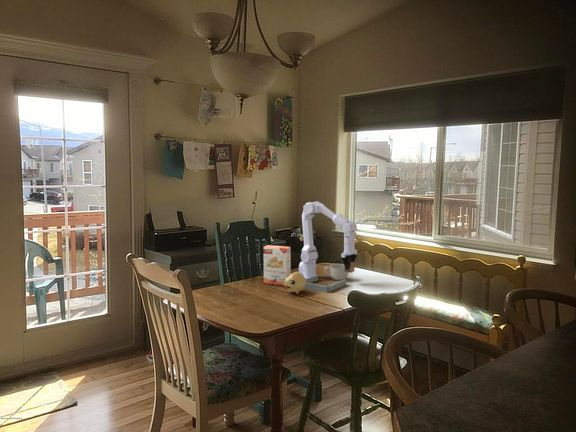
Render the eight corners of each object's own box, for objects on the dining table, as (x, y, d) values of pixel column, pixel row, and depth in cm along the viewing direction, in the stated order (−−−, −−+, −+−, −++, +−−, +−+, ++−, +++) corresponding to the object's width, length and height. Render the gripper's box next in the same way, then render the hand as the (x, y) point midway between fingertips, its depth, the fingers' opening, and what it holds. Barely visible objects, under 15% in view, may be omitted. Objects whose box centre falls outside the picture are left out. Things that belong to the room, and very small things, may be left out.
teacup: (348, 277, 267) (348, 263, 266) (348, 281, 256) (348, 267, 255) (324, 276, 268) (324, 263, 267) (323, 281, 257) (323, 267, 257)
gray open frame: (297, 287, 245) (297, 281, 245) (316, 280, 260) (316, 274, 260) (328, 292, 234) (328, 286, 234) (346, 284, 249) (346, 279, 249)
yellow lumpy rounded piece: (279, 293, 233) (279, 272, 232) (295, 288, 242) (295, 268, 241) (293, 296, 226) (293, 275, 225) (309, 292, 235) (309, 271, 234)
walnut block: (344, 271, 251) (344, 262, 250) (347, 270, 254) (348, 261, 253) (350, 272, 248) (351, 263, 248) (354, 271, 252) (354, 262, 251)
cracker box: (263, 284, 252) (262, 246, 250) (267, 281, 257) (267, 244, 255) (286, 286, 246) (286, 248, 244) (291, 283, 252) (290, 246, 250)
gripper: (349, 246, 241) (349, 271, 243) (362, 242, 253) (361, 267, 254) (337, 245, 246) (337, 270, 247) (350, 241, 257) (350, 265, 259)
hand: (349, 268), depth 251 cm, fingers closed on walnut block, 4 cm apart
